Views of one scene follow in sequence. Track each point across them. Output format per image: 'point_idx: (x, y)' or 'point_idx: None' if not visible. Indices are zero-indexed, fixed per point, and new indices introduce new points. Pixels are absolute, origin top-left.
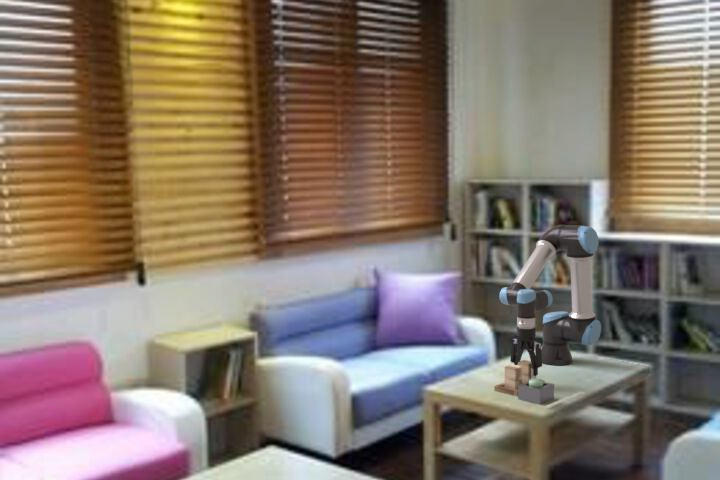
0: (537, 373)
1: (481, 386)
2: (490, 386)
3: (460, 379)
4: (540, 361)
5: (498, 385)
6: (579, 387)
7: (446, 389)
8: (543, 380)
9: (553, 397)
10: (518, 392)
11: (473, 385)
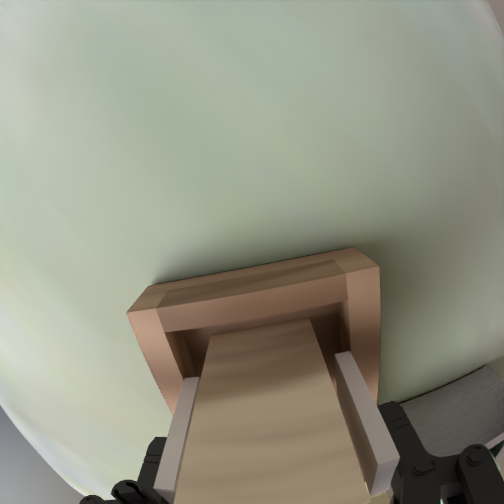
0: (405, 416)
1: (110, 446)
2: (123, 431)
3: (14, 413)
4: (493, 501)
5: None
6: (457, 53)
7: (108, 496)
8: (370, 273)
9: (496, 378)
10: (390, 497)
11: (88, 448)
